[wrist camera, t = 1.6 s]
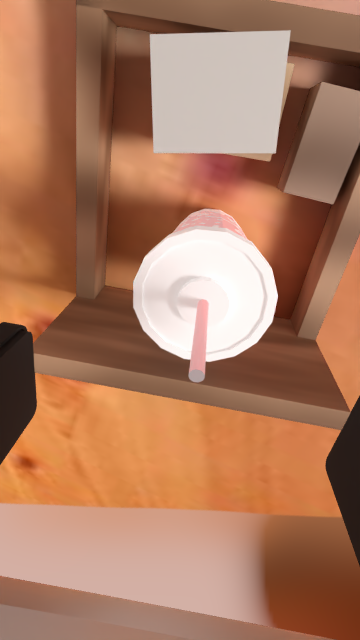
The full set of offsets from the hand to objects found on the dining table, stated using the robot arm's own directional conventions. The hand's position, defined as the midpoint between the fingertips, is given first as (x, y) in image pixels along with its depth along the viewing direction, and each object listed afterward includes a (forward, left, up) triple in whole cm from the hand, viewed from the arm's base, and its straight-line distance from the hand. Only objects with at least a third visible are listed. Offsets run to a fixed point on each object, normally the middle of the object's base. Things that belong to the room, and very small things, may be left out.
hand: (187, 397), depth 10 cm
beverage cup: (-1, 0, -15) cm, 15 cm away
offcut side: (-7, +5, -15) cm, 17 cm away
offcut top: (-8, -1, -12) cm, 14 cm away
